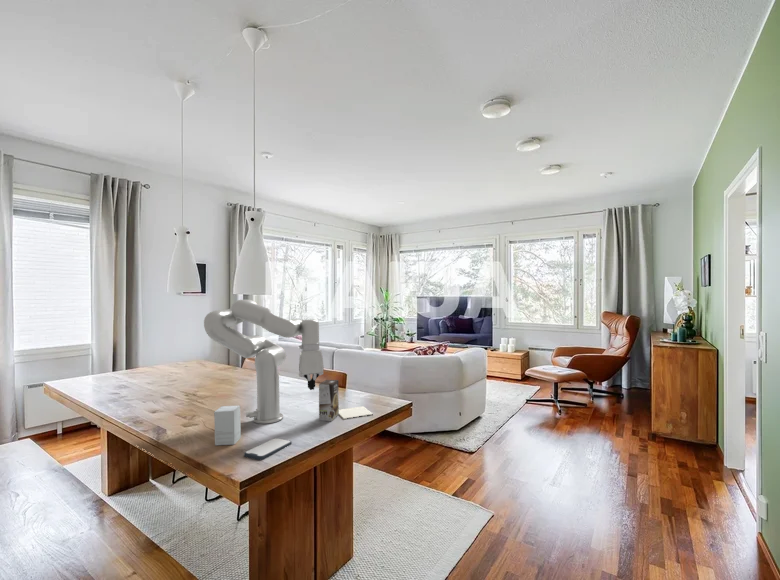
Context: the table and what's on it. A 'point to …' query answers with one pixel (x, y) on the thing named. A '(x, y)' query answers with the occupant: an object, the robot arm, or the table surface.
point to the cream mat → (354, 412)
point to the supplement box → (227, 425)
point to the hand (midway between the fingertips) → (311, 389)
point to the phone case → (267, 449)
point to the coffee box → (328, 400)
